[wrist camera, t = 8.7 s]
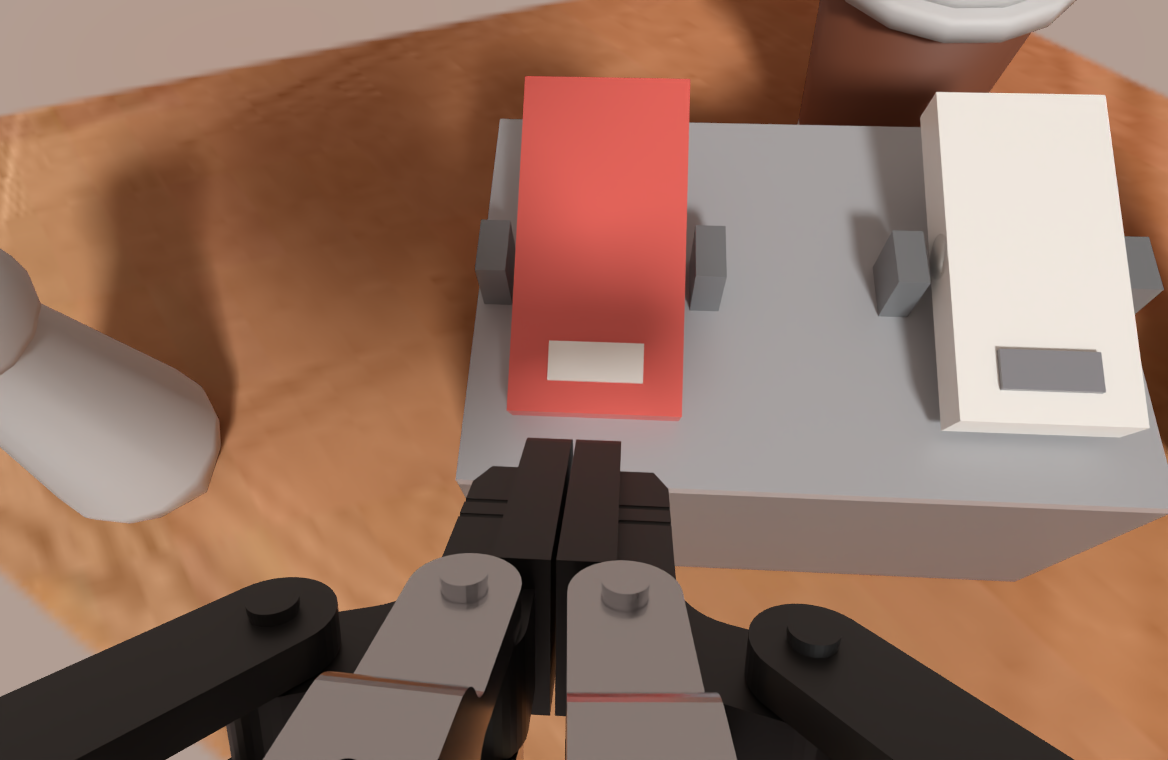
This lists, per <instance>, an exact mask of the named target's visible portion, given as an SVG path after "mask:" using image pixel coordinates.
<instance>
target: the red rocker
mask: <svg viewBox="0 0 1168 760" xmlns="http://www.w3.org/2000/svg"><path fill="white" fill-rule="evenodd" d="M689 110H690V79H660V78H604V77H547V76H525V88H524V106H523V124H522V142H521V160H520V178H519V196H518V214H517V232H516V250H515V268H514V286H513V304H512V322H511V340H510V358H509V376H508V394H507V411H508V412H509V413H510V414H512V415H525V416H552V417H578V418H605V419H632V420H658V421H679V420H680V419H681V417H682V393H683V352H684V312H685V272H686V231H687V191H688V150H689Z"/></svg>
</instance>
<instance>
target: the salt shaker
mask: <svg viewBox="0 0 1168 760" xmlns="http://www.w3.org/2000/svg"><path fill="white" fill-rule="evenodd" d="M0 447H1V448H2V449H3V450H4V451H5V452H6V453H8V454H9V455H10V456H11V457H12V458H13V459H14V460H16V461H17V462H18V463H19V464H20V465H21V466H22V467H24V468H25V469H26V470H27V471H28V472H29V473H31V474H32V475H33V476H34V477H35V478H36V479H37V480H39V481H40V482H41V483H42V484H43V485H44V486H45V487H47V488H48V489H49V490H50V491H51V492H52V493H53V494H55V495H56V496H57V497H58V498H59V499H61V500H62V501H63V502H65V503H66V504H68V505H69V506H70V507H72V508H73V509H74V510H76V511H77V512H78V513H80V514H81V515H83V516H84V517H86V518H91V519H95V520H104V521H113V522H122V523H135V522H140V521H145V520H150V519H156V518H160V517H162V516H164V515H166V514H168V513H170V512H171V511H173V510H175V509H177V508H179V507H180V506H182V505H184V504H186V503H188V502H189V501H191V500H193V499H195V498H197V497H199V496H200V495H202V494H204V493H206V492H207V489H208V486H209V483H210V480H211V477H212V473H213V470H214V467H215V464H216V461H217V458H218V455H219V451H220V448H221V438H220V423H219V419H218V417H217V415H216V413H215V411H214V409H213V407H212V405H211V403H210V401H209V399H208V397H207V395H206V393H205V391H204V390H203V388H202V386H200V385H199V384H197V383H196V382H194V381H193V380H191V379H190V378H188V377H187V376H186V375H184V374H183V373H181V372H180V371H178V370H177V369H175V368H173V367H171V366H169V365H167V364H165V363H163V362H161V361H159V360H157V359H154V358H152V357H150V356H148V355H146V354H144V353H142V352H140V351H138V350H136V349H134V348H132V347H130V346H128V345H126V344H124V343H121V342H119V341H117V340H115V339H113V338H111V337H109V336H107V335H105V334H103V333H101V332H99V331H97V330H95V329H93V328H91V327H88V326H86V325H84V324H82V323H80V322H78V321H76V320H74V319H72V318H70V317H68V316H66V315H64V314H62V313H60V312H58V311H55V310H53V309H51V308H49V307H47V306H45V305H43V304H41V303H40V301H39V298H38V296H37V294H36V291H35V289H34V286H33V284H32V281H31V279H30V277H29V275H28V272H27V271H26V270H25V269H24V268H23V267H22V266H21V265H20V264H19V263H18V262H17V261H16V260H15V259H14V258H13V257H12V256H11V255H9V254H8V253H6V252H5V251H3V250H2V249H0Z"/></svg>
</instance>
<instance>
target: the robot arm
mask: <svg viewBox="0 0 1168 760" xmlns="http://www.w3.org/2000/svg"><path fill="white" fill-rule="evenodd" d="M620 464H621V441H605V440H580V439H576V443H575V449H574V455H573V439H552V438H527V439H526V442H525V446H524V449H523V452H522V456H521V459H520V462H519V466H518V467H505V466H492V467H490V468H489V469H488V470H486V471H485V472H484V473H483V474H481V475H480V476H479V477H477V478H476V479H475V480H473V482H472V485H471V487H470V490H469V492H468V495H467V497H466V502H464V504H463V507H462V509H461V512H460V516H459V517H458V519H457V522H456V524H455V527H454V529H453V531H452V534H451V536H450V539H449V541H448V544H447V546H446V549H445V551H444V554H443V556H442V557H441V558H438V559H435V560H433V561H431V562H429V563H427V564H425V565H423V566H422V567H420V568H419V569H418V570H416V571H415V572H414V573H413V574H412V576H411V577H410V578H409V580H408V582H407V583H406V585H405V587H404V588H403V590H402V592H401V594H400V595H399V597H398V599H397V600H396V601H394V602H391V603H388V604H384V605H379V606H373V607H367V608H360V609H354V610H347V611H341V612H339V611H338V602H337V597H336V595H335V593H334V592H333V590H332V589H331V588H330V587H328V586H327V585H325V584H323V583H322V582H319V581H316V580H312V579H308V578H299V577H286V578H277V579H271V580H266V581H262V582H259V583H256V584H253V585H250V586H248V587H245V588H243V589H240V590H238V591H236V592H234V593H232V594H229V595H227V596H225V597H223V598H220V599H218V600H216V601H214V602H211V603H209V604H207V605H205V606H202V607H200V608H198V609H196V610H193V611H191V612H189V613H187V614H185V615H182V616H180V617H178V618H176V619H173V620H171V621H169V622H167V623H164V624H162V625H160V626H158V627H155V628H153V629H151V630H149V631H147V632H144V633H142V634H140V635H138V636H135V637H133V638H131V639H129V640H126V641H124V642H122V643H120V644H117V645H115V646H113V647H111V648H108V649H106V650H104V651H102V652H100V653H97V654H95V655H93V656H91V657H88V658H86V659H84V660H82V661H79V662H77V663H75V664H73V665H70V666H68V667H66V668H64V669H62V670H59V671H57V672H55V673H53V674H50V675H48V676H46V677H44V678H41V679H39V680H37V681H35V682H32V683H30V684H28V685H26V686H24V687H21V688H19V689H17V690H15V691H12V692H10V693H8V694H6V695H3V696H1V697H0V760H166V759H168V758H169V757H171V756H173V755H175V754H176V753H178V752H180V751H182V750H184V749H185V748H187V747H189V746H191V745H192V744H194V743H196V742H198V741H200V740H201V739H203V738H205V737H207V736H208V735H210V734H212V733H214V732H216V731H217V730H219V729H221V728H223V727H224V726H226V727H227V733H228V739H229V745H230V751H231V758H230V759H228V760H524V758H523V743H524V741H525V740H526V737H527V733H528V729H529V723H530V716H531V714H532V715H550V711H551V704H552V697H553V689H554V682H555V716H566V739H565V760H1074V759H1072V758H1071V757H1069V756H1067V755H1066V754H1064V753H1063V752H1061V751H1060V750H1058V749H1056V748H1055V747H1053V746H1052V745H1050V744H1048V743H1047V742H1045V741H1044V740H1042V739H1041V738H1039V737H1037V736H1036V735H1034V734H1033V733H1031V732H1029V731H1028V730H1026V729H1025V728H1023V727H1022V726H1020V725H1018V724H1017V723H1015V722H1014V721H1012V720H1010V719H1009V718H1007V717H1006V716H1004V715H1002V714H1001V713H999V712H998V711H996V710H995V709H993V708H991V707H990V706H988V705H987V704H985V703H983V702H982V701H980V700H979V699H977V698H976V697H974V696H972V695H971V694H969V693H968V692H966V691H964V690H963V689H961V688H960V687H958V686H957V685H955V684H953V683H952V682H950V681H949V680H947V679H945V678H944V677H942V676H941V675H939V674H938V673H936V672H934V671H933V670H931V669H930V668H928V667H926V666H925V665H923V664H922V663H920V662H919V661H917V660H915V659H914V658H912V657H911V656H909V655H907V654H906V653H904V652H903V651H901V650H900V649H898V648H896V647H895V646H893V645H892V644H890V643H888V642H887V641H885V640H884V639H882V638H880V637H879V636H877V635H876V634H874V633H873V632H871V631H869V630H868V629H866V628H865V627H863V626H861V625H860V624H858V623H857V622H855V621H854V620H852V619H850V618H848V617H846V616H845V615H843V614H840V613H838V612H836V611H833V610H830V609H827V608H823V607H819V606H814V605H807V604H785V605H779V606H774V607H771V608H769V609H766V610H764V611H763V612H761V613H759V614H758V615H757V616H756V617H755V618H754V619H753V621H752V622H751V624H750V627H749V630H748V629H744V628H740V627H736V626H733V625H729V624H726V623H722V622H719V621H716V620H714V619H712V618H709V617H707V616H705V615H704V614H702V613H700V612H698V611H697V610H696V609H694V608H693V607H691V606H690V605H689V604H688V603H687V602H686V601H685V600H684V596H683V592H682V589H681V586H680V585H679V584H678V582H677V581H676V575H675V563H674V551H673V539H672V526H671V514H670V502H669V490H668V488H667V487H666V486H665V485H664V483H663V482H662V481H661V480H660V479H659V478H658V477H657V476H656V475H655V474H654V473H650V472H626V471H620Z"/></svg>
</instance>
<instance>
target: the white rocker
mask: <svg viewBox="0 0 1168 760" xmlns="http://www.w3.org/2000/svg"><path fill="white" fill-rule="evenodd" d="M920 123H921V138H922V153H923V168H924V183H925V198H926V213H927V228H928V243H929V258H930V273H931V288H932V303H933V318H934V333H935V348H936V363H937V378H938V393H939V408H940V423H941V431H957V432H983V433H1010V434H1037V435H1063V436H1090V437H1117V438H1120V437H1123V436H1126V435H1129V434H1133V433H1136V432H1139V431H1142V430H1145V429H1148V428H1150V426H1149V418H1148V411H1147V403H1146V396H1145V388H1144V381H1143V373H1142V366H1141V358H1140V351H1139V343H1138V336H1137V328H1136V321H1135V313H1134V306H1133V298H1132V291H1131V283H1130V276H1129V268H1128V261H1127V253H1126V246H1125V238H1124V231H1123V223H1122V216H1121V208H1120V201H1119V193H1118V186H1117V178H1116V171H1115V163H1114V156H1113V148H1112V141H1111V133H1110V126H1109V118H1108V111H1107V103H1106V96H1105V95H1074V94H1019V93H964V92H936V93H935V95H934V96H933V98H932V100H931V101H930V103H929V104H928V106H927V107H926V109H925V111H924V112H923V114H922V115H921V117H920Z"/></svg>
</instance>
